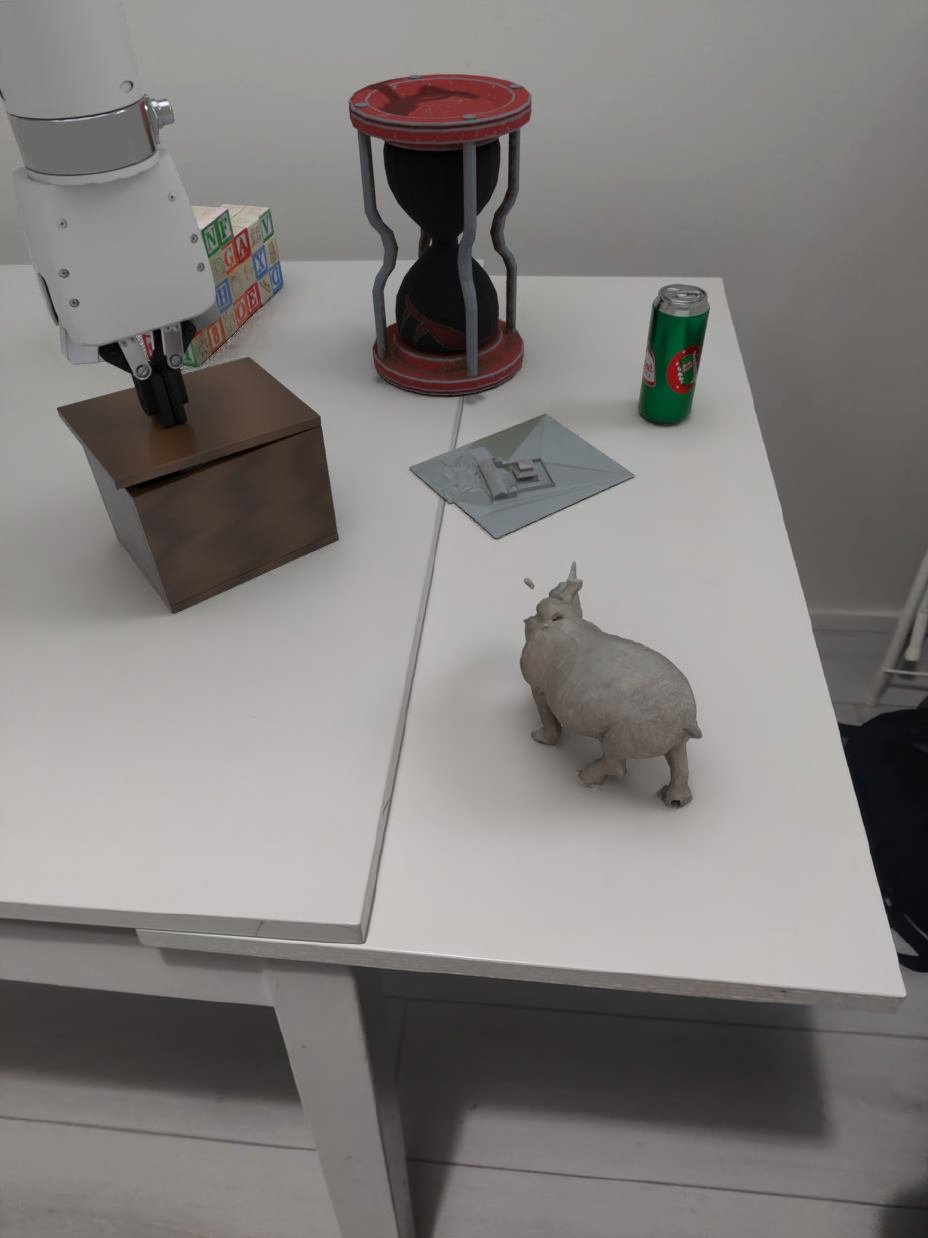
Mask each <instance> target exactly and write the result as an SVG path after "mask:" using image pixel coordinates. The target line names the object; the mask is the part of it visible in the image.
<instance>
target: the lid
mask: <svg viewBox="0 0 928 1238" xmlns="http://www.w3.org/2000/svg"><path fill="white" fill-rule="evenodd" d="M182 377H183V381H184V384H185V388H186V392H187V395H188V399H189V402H188V403H186V404H183V405H184V409H185V412H186V416H187V421H186V422H184V423H181V424H180V423H179V422H178V423H177V422H176V421H175V424H173V426H172V427H170V428H167V429H166V428H165V427H164V426H163V425H162V424H161V423H160V422H159V421H158V420H157V419H156V418H155V416H154V415H152V416H147V415H146V413H145V412H144V411H143V409H142V407H141V404H140V401H139V398H138V395H137V392H136V389H135V386H132V387H129V388H125V389H122V390H121V389H120V390H117V391H114V392H110V393H106V394H103V395H99V396H96V397H95V396H94V397H92V398H88V399H84V400H80V401H77V402H73V403H69V404H65V405H61V406H57V407H56V411H57V414H58V417H59V418H60V420H61V421H62V422H63V424H64V425H65V426H66V427H67V428H68V430H69V431H70V432H71V434H72V435H73V436H74V438H75V439H76V440H77V441H78V443H79V444H80V445H81V446H83V447H84V449H85V450H86V451H87V453H88V454H89V455H90V456H91V458H92V459H93V460H94V462H95V463H96V464H97V465H98V467H99V468H100V469H101V470H102V472H103V473H104V474H105V476H106V477H107V478H108V479H109V481H110V482H111V483H112V484H113V486H114V487H115V488H116V489H117V490H119V489H122V488H125V487H128V486H132V485H135V484H138V483H141V482H144V481H147V480H150V479H154V478H157V477H160V476H163V475H166V474H169V473H172V472H176V471H179V470H182V469H185V468H188V467H191V466H194V465H198V464H201V463H204V462H207V461H210V460H213V459H216V458H220V457H223V456H226V455H229V454H232V453H235V452H238V451H241V450H245V449H248V448H251V447H254V446H257V445H260V444H263V443H267V442H270V441H273V440H276V439H279V438H282V437H285V436H289V435H292V434H295V433H298V432H301V431H304V430H307V429H311V428H314V427H317V426H320V425H321V426H322V417H321V415H320V414H319V413H318V412H316V411H315V410H314V409H313V408H312V407H310V405H308V404H307V403H305V401H303V400H302V399H301V398H299V397H298V396H297V395H296V394H295V393H294V392H292V391H291V390H290V389H289V388H288V387H286V385H284V384H283V383H282V382H280V381H279V380H278V379H277V378H276V377H274V376H273V375H272V374H271V373H269V372H268V371H267V370H266V369H265V368H264V367H262V365H260V364H259V363H258V362H256V361H255V360H254V359H252V357H250V356H245V357H242V358H238V359H235V360H234V359H233V360H231V361H227V362H224V363H219V364H216V365H212V366H207V367H205V368H201V369H200V368H199V369H197V370H192V371H189V372H185V373H182ZM83 447H82V448H83ZM84 449H83V450H84Z"/></svg>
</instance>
